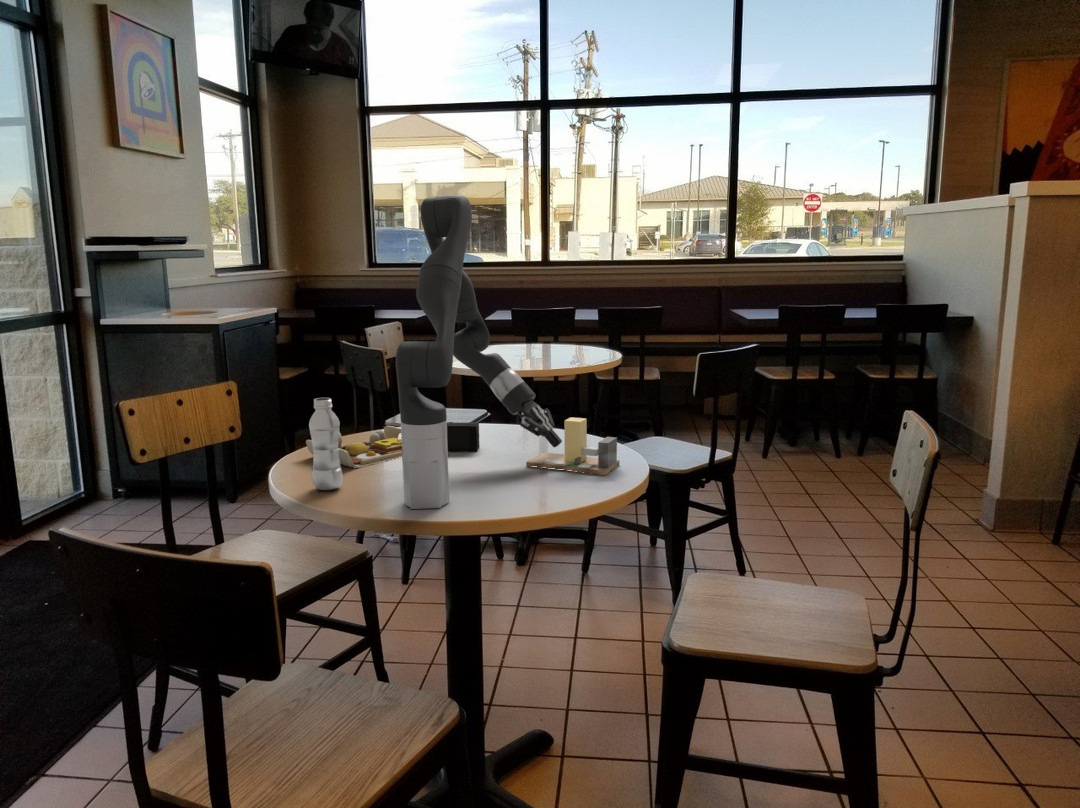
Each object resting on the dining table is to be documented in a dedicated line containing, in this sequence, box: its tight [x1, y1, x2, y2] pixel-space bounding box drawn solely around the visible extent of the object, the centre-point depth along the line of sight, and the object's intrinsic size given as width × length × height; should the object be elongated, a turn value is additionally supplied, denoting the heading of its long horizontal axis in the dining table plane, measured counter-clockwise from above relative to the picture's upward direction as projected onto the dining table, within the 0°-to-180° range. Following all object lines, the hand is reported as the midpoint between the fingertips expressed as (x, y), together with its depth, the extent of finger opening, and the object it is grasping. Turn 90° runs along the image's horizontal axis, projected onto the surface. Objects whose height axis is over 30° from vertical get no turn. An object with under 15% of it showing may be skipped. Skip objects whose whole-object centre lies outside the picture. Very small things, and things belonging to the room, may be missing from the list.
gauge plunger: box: [563, 417, 598, 464], centre depth 186 cm, size 8×6×10 cm
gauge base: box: [525, 436, 620, 476], centre depth 188 cm, size 20×10×7 cm, turn 65°
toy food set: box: [305, 425, 402, 469], centre depth 201 cm, size 25×18×8 cm
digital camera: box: [447, 421, 480, 453], centre depth 206 cm, size 10×5×7 cm, turn 86°
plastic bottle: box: [308, 397, 344, 491], centre depth 171 cm, size 6×7×20 cm
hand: (558, 444), depth 190 cm, fingers closed
